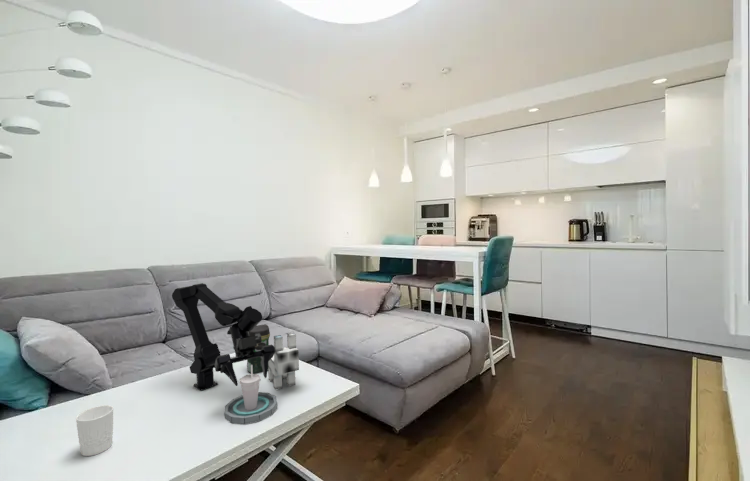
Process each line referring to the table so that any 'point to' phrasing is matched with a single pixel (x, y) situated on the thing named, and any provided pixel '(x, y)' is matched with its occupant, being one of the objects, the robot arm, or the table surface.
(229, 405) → the tray
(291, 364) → the toy llama
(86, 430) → the white cup
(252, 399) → the smoothie
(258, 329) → the coffee jar
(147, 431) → the table surface
